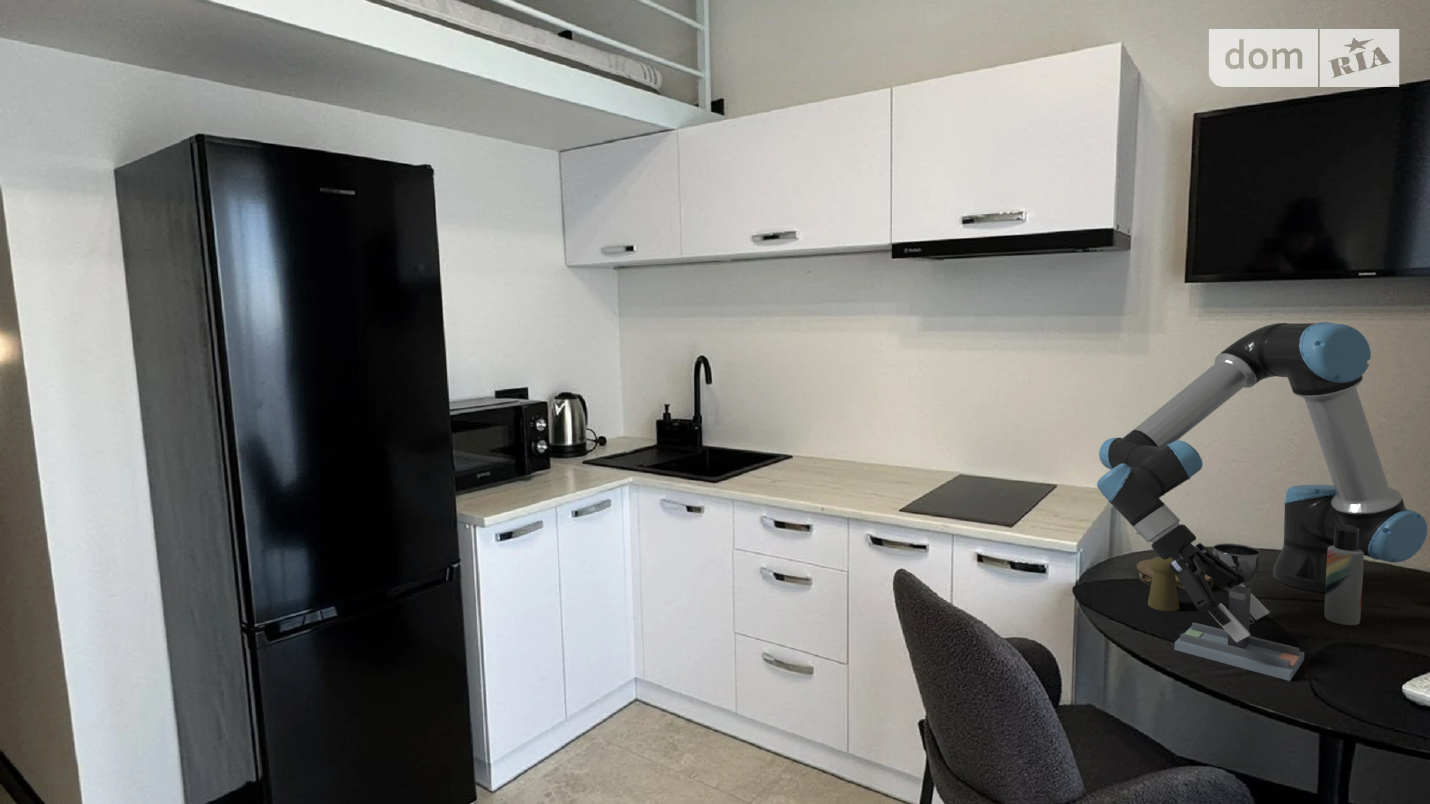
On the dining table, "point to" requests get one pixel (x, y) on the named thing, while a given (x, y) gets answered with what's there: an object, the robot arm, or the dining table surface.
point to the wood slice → (1147, 573)
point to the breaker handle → (1240, 612)
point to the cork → (1163, 586)
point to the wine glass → (1240, 561)
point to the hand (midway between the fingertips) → (1253, 627)
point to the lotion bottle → (1344, 577)
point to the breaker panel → (1241, 651)
